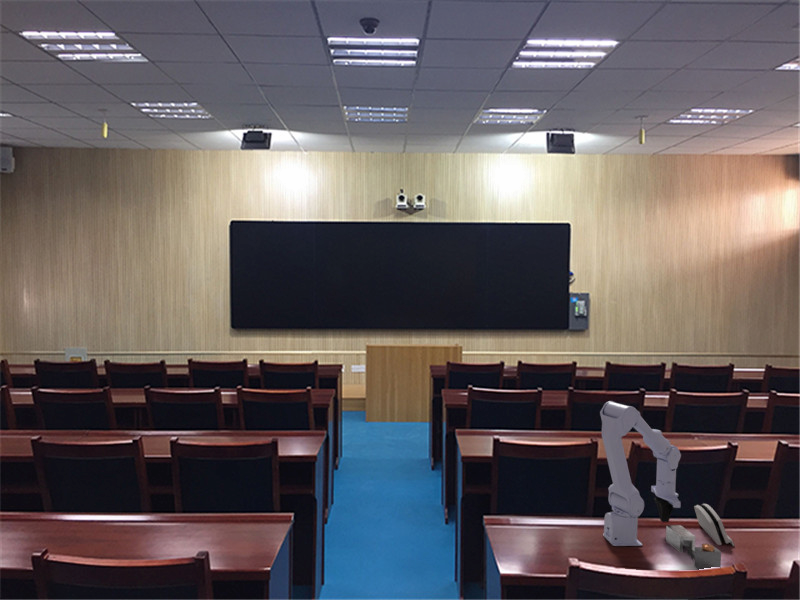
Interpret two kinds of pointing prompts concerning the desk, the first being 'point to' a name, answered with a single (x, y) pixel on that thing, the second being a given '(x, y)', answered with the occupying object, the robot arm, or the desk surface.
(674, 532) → the lock
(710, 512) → the grey black curved block
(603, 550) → the desk surface
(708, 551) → the coupler
